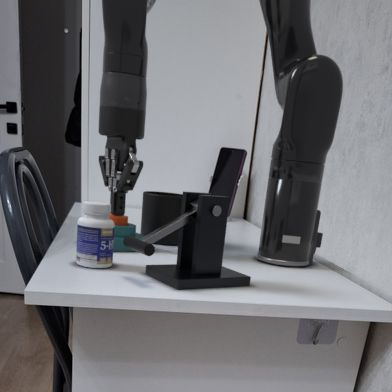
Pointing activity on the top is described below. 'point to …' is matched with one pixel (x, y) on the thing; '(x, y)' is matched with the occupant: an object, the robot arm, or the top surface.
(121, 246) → the button box
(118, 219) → the button
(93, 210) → the pill bottle
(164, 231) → the lever
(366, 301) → the top surface
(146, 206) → the mug
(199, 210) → the bracket
